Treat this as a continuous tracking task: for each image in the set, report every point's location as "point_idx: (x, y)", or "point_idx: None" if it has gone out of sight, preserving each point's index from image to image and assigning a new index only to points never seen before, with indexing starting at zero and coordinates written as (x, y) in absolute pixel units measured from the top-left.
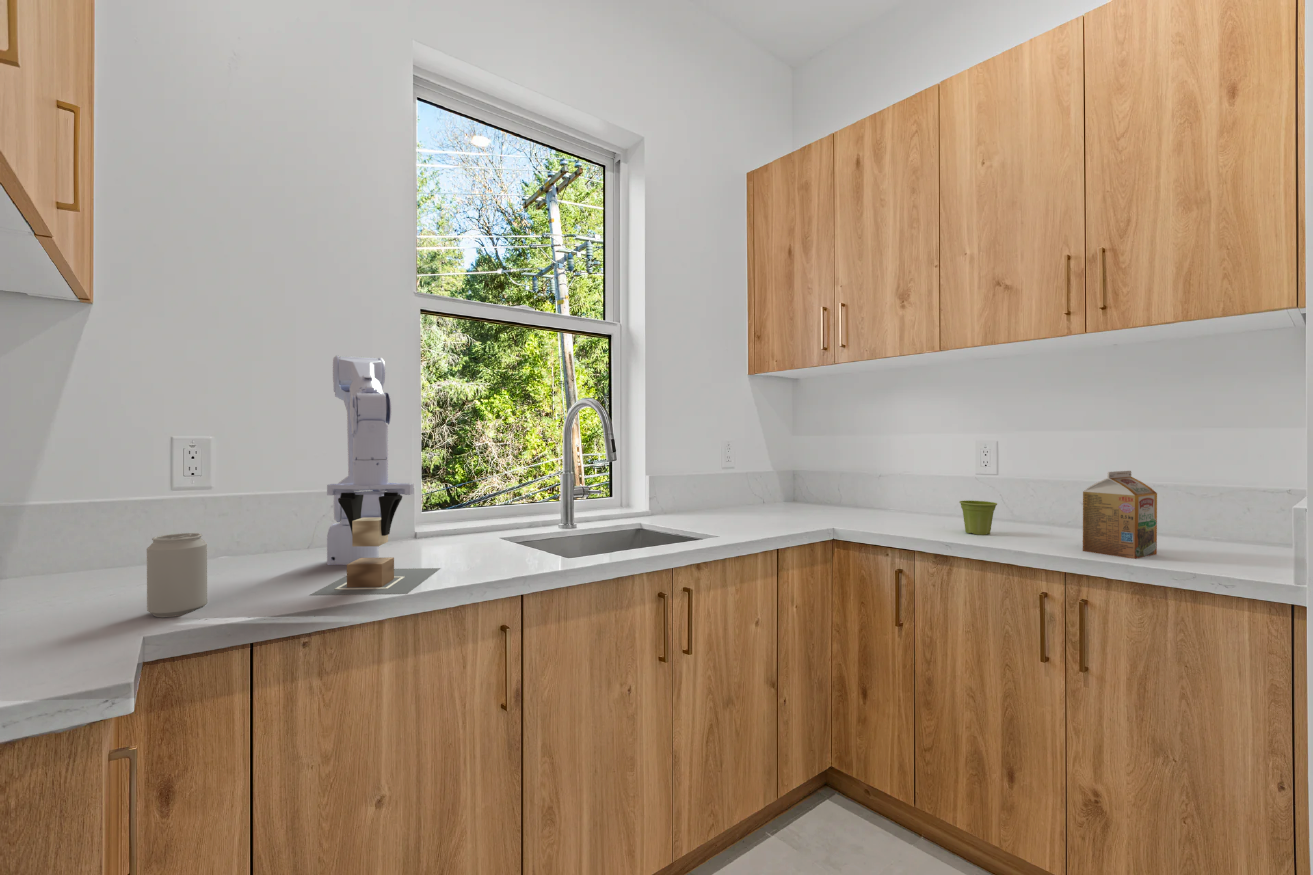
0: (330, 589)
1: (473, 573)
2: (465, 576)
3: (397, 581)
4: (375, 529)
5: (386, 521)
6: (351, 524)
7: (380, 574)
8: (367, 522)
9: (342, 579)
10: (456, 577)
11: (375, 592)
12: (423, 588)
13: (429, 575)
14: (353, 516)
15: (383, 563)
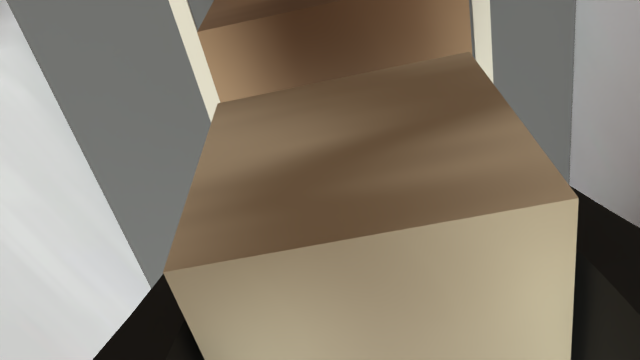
0: None
1: (37, 353)
2: (30, 309)
3: (207, 110)
4: (226, 187)
5: (121, 330)
6: (595, 218)
7: (217, 8)
8: (330, 224)
9: (552, 115)
10: (55, 290)
11: None
12: (44, 84)
13: (142, 252)
14: (619, 300)
15: (208, 65)
